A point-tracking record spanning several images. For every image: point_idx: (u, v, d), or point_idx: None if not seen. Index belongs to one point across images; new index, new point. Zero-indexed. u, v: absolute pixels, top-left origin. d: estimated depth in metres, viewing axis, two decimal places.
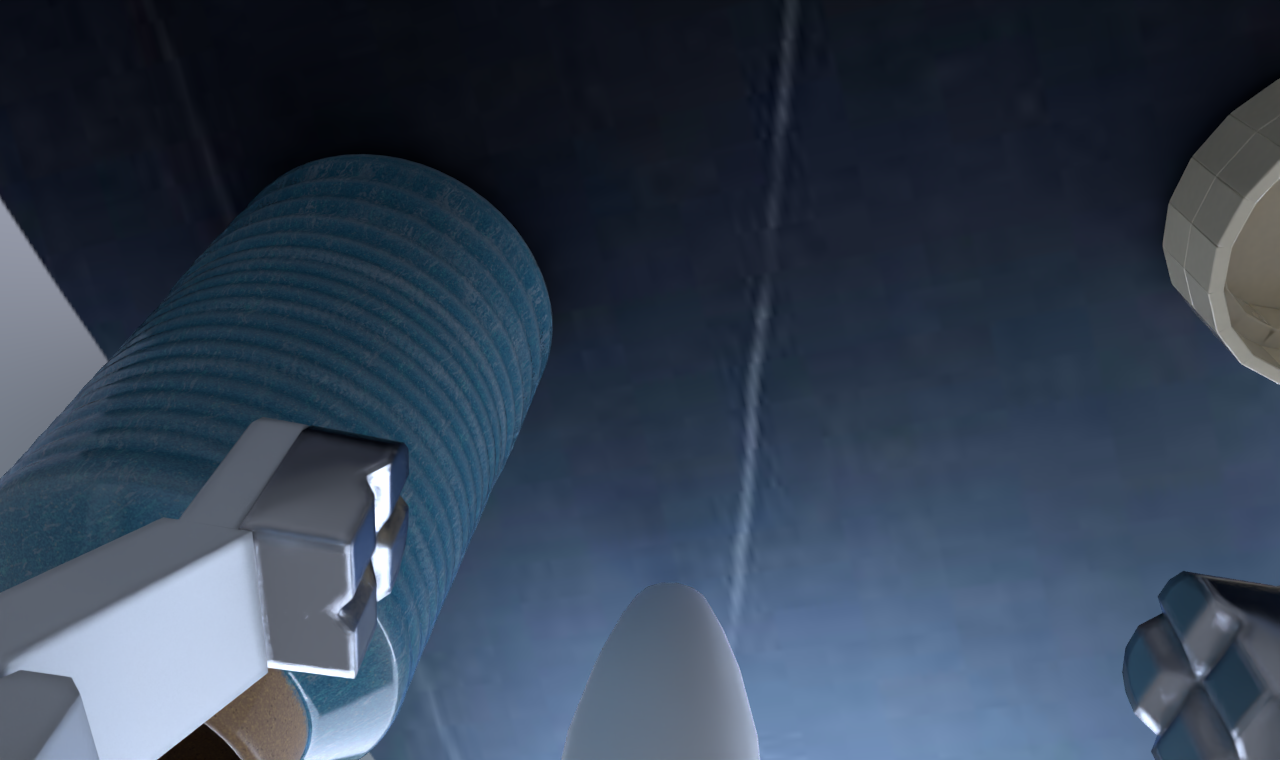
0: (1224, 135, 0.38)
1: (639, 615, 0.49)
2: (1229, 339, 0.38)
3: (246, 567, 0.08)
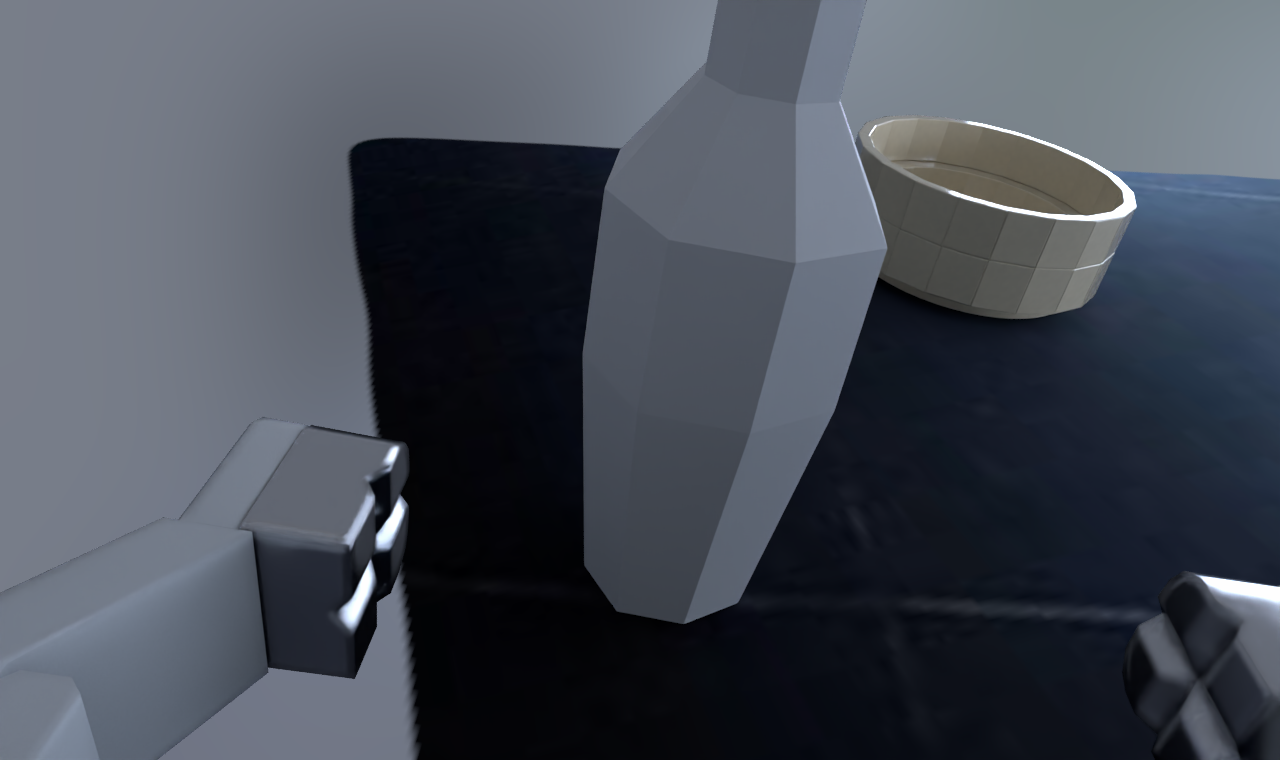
0: (946, 281, 0.41)
1: None
2: (1122, 212, 0.41)
3: (246, 567, 0.08)
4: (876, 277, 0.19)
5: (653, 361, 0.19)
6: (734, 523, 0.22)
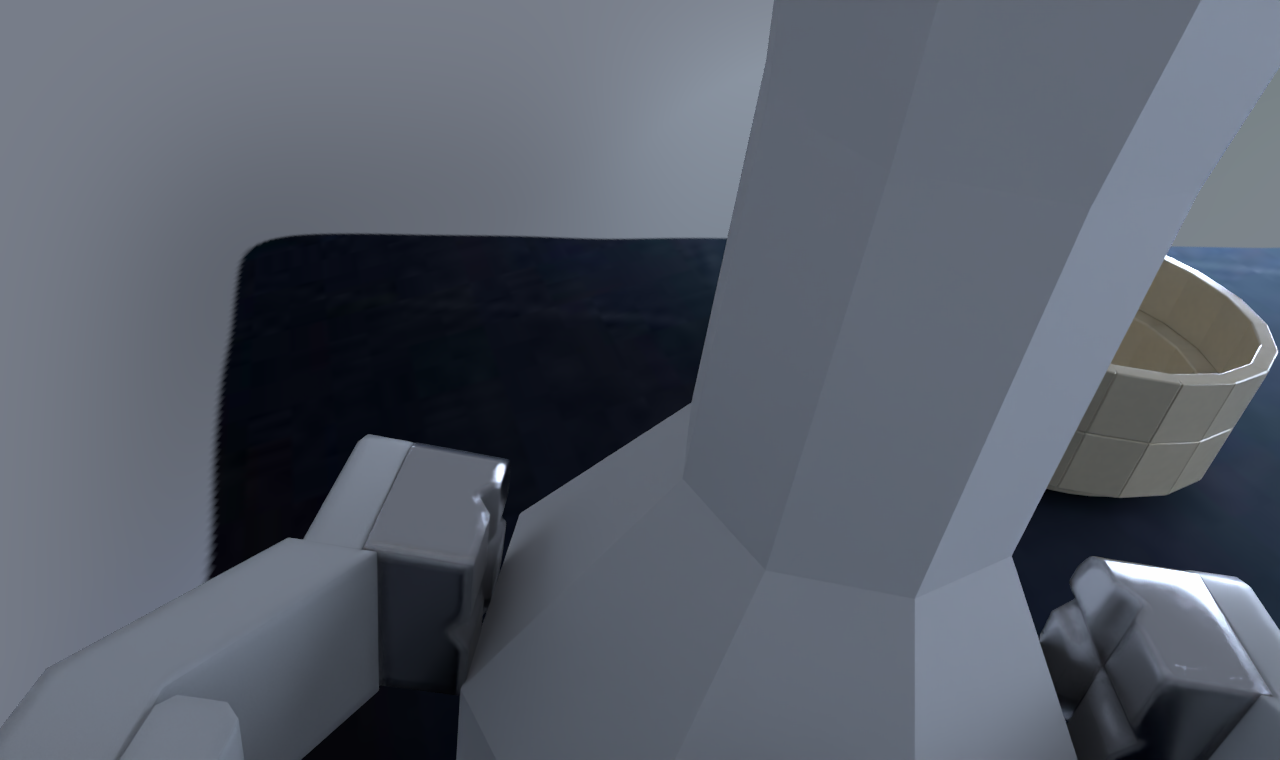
0: None
1: None
2: (1264, 362, 0.30)
3: (369, 587, 0.08)
4: None
5: None
6: None
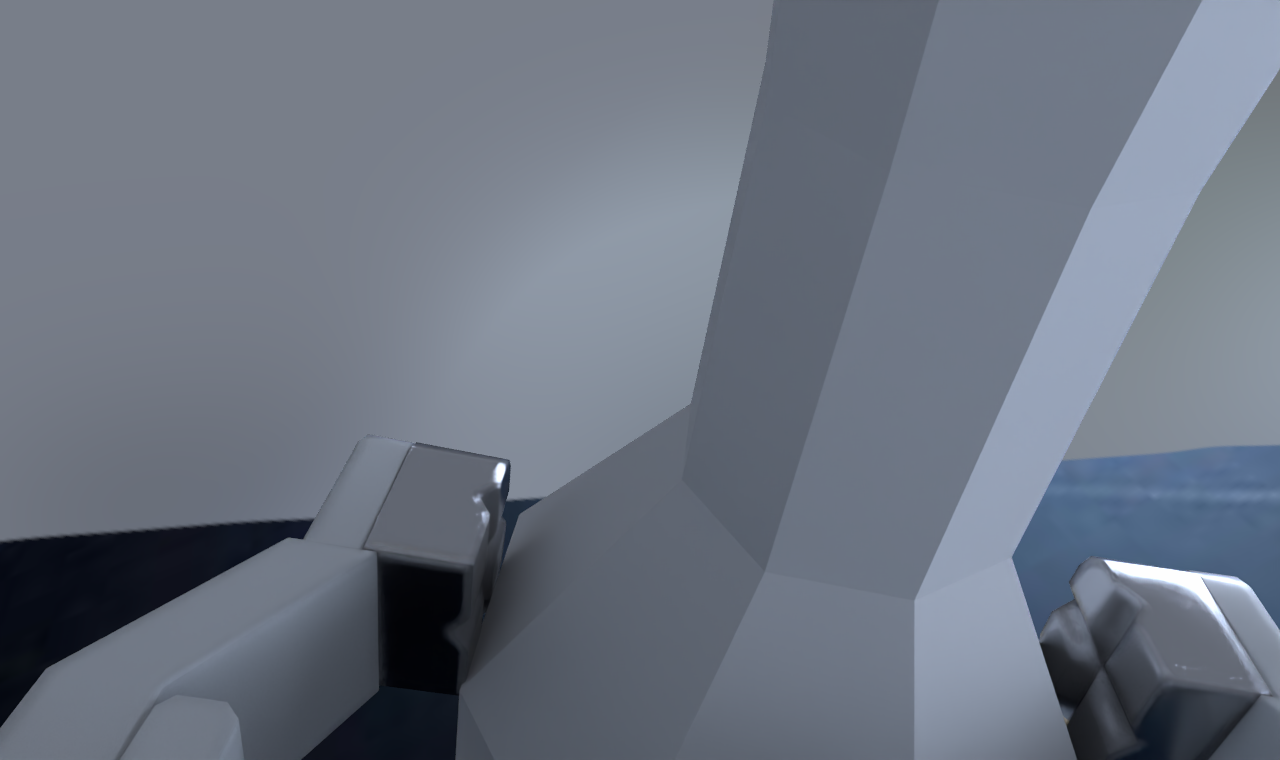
0: None
1: None
2: None
3: (369, 587, 0.08)
4: None
5: None
6: None
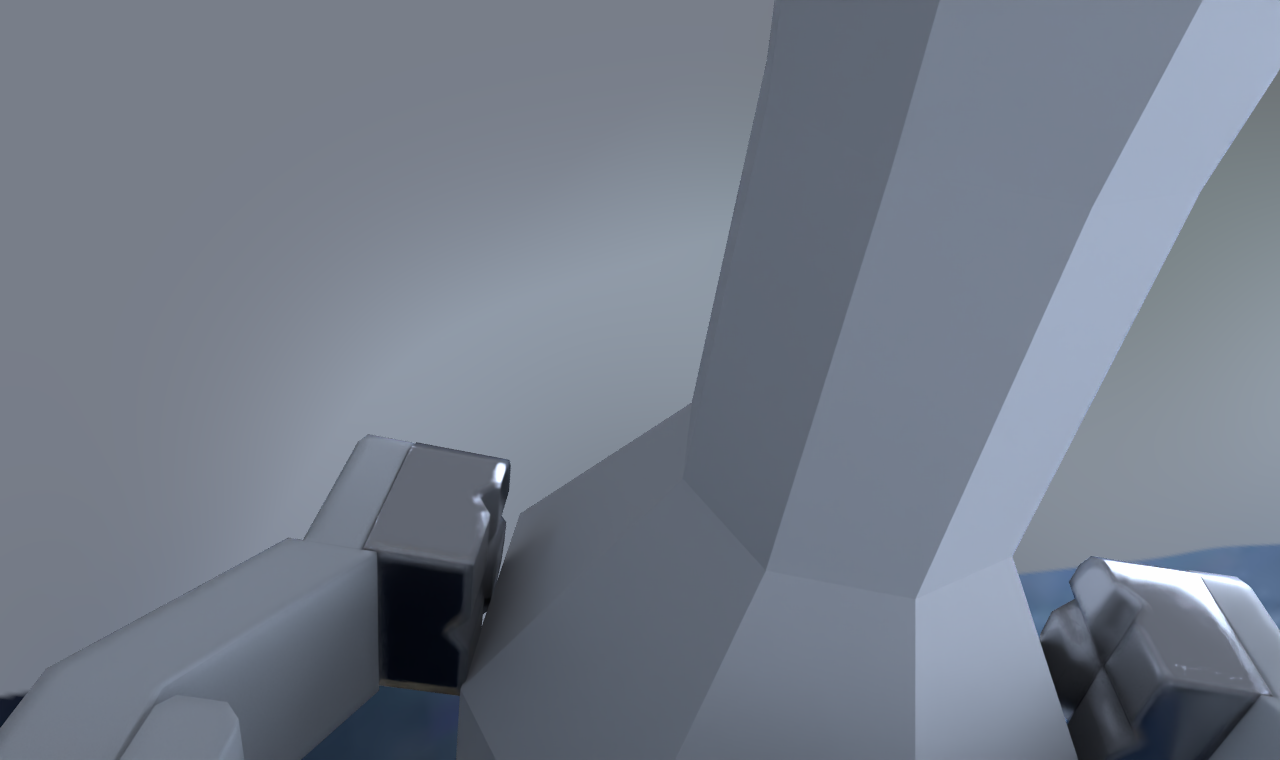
0: None
1: None
2: None
3: (369, 587, 0.08)
4: None
5: None
6: None
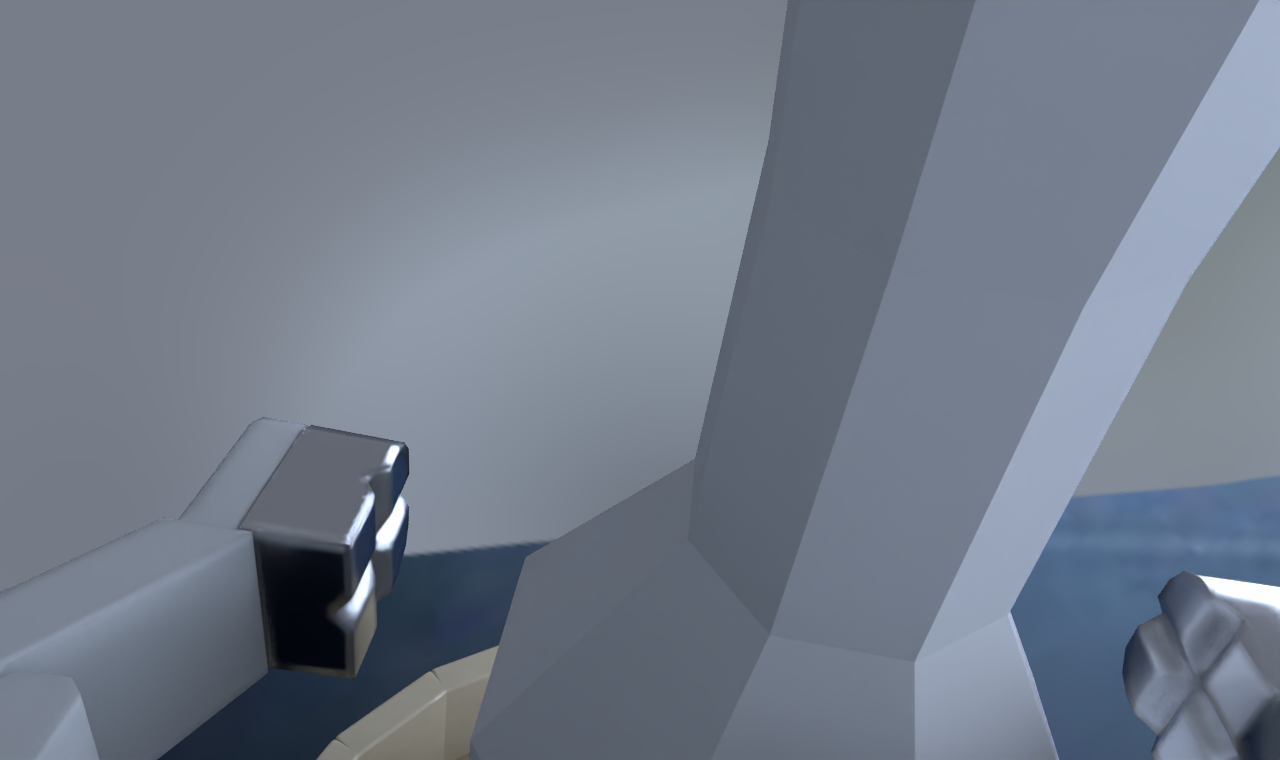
0: None
1: None
2: None
3: (246, 567, 0.08)
4: None
5: None
6: None
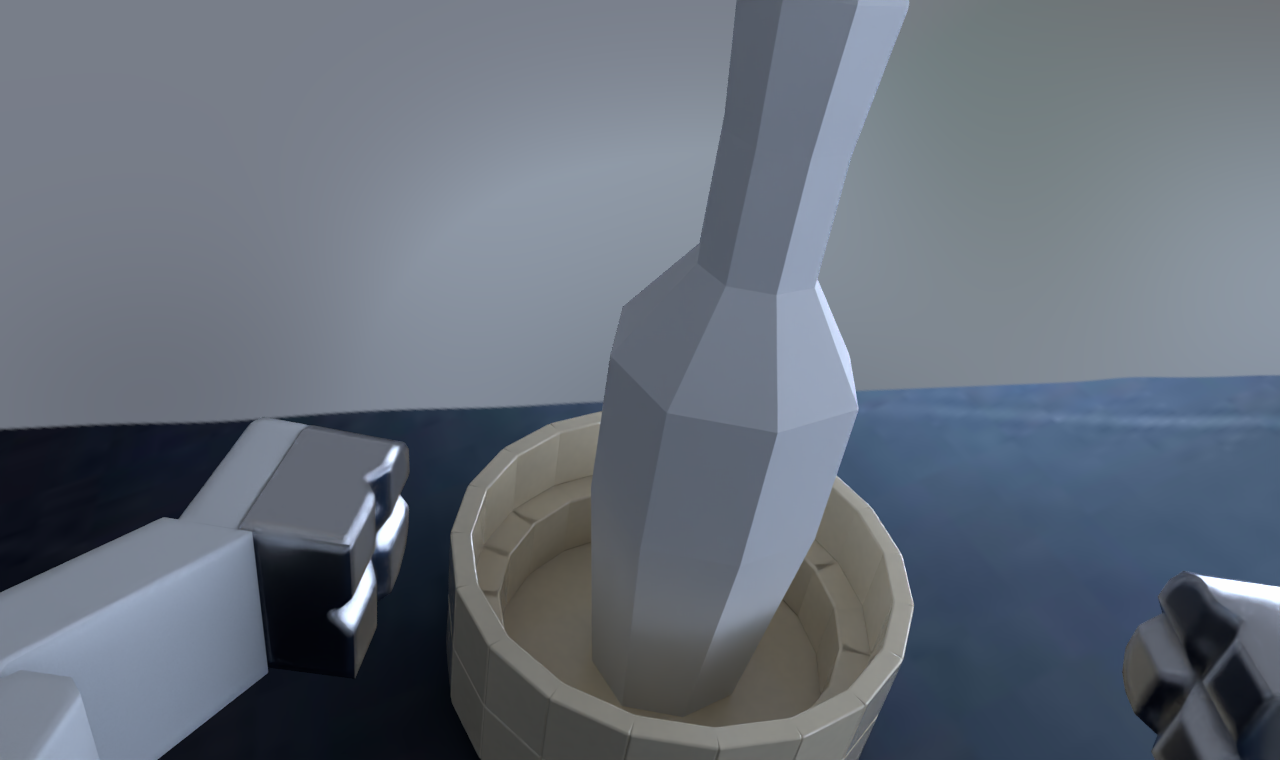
0: None
1: None
2: (869, 685, 0.23)
3: (246, 567, 0.08)
4: (849, 432, 0.22)
5: (654, 508, 0.22)
6: (727, 634, 0.25)
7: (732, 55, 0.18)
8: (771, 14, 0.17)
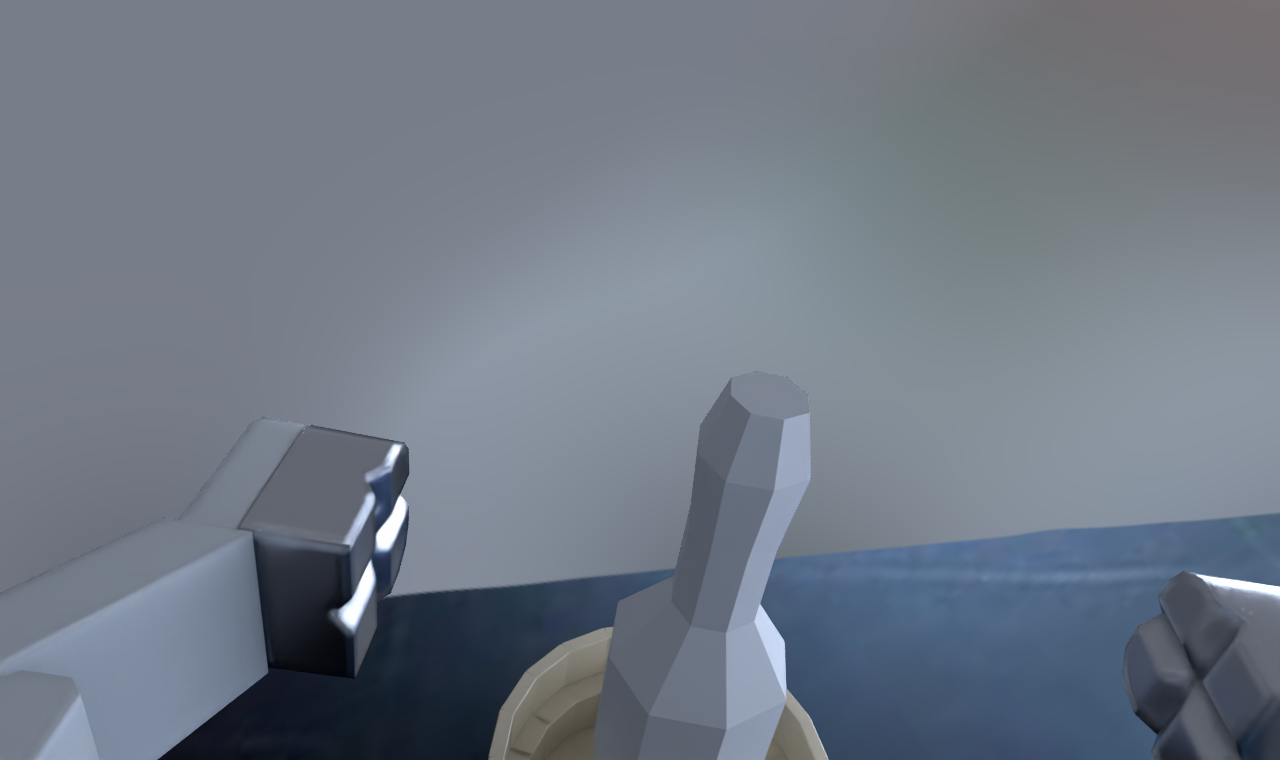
0: None
1: None
2: None
3: (246, 567, 0.08)
4: (780, 713, 0.30)
5: None
6: None
7: (693, 493, 0.27)
8: (718, 488, 0.26)
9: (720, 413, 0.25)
